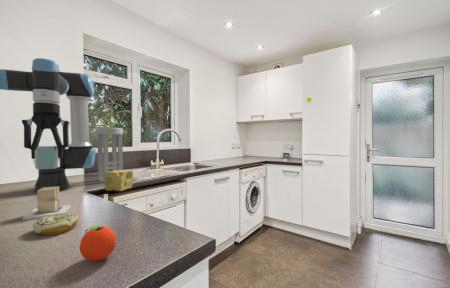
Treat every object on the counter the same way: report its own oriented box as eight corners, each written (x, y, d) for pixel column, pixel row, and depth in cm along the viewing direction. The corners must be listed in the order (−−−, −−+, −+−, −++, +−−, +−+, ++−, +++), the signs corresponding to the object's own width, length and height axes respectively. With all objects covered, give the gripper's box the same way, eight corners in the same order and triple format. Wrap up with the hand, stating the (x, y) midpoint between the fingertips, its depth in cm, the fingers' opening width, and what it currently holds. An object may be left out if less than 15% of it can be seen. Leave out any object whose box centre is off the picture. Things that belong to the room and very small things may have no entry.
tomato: (68, 263, 46) (67, 229, 46) (98, 248, 52) (97, 218, 52) (95, 271, 43) (95, 235, 43) (123, 254, 49) (123, 222, 49)
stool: (127, 180, 146) (126, 128, 145) (102, 183, 134) (101, 127, 134) (117, 177, 156) (116, 129, 155) (93, 180, 144) (92, 128, 144)
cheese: (121, 191, 112) (121, 172, 112) (103, 190, 114) (103, 171, 114) (133, 187, 122) (133, 169, 122) (117, 186, 125) (116, 169, 124)
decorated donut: (29, 241, 57) (29, 227, 56) (36, 228, 65) (35, 215, 65) (78, 231, 62) (77, 218, 62) (77, 220, 71) (77, 209, 71)
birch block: (42, 209, 80) (42, 187, 80) (59, 207, 82) (59, 186, 82) (37, 213, 76) (37, 190, 76) (55, 211, 78) (54, 189, 78)
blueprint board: (35, 210, 82) (35, 208, 81) (70, 206, 86) (70, 204, 86) (22, 220, 71) (22, 217, 71) (63, 215, 76) (63, 212, 76)
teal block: (41, 167, 80) (41, 146, 80) (58, 167, 82) (58, 146, 82) (36, 169, 75) (36, 146, 75) (54, 168, 77) (54, 146, 77)
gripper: (8, 99, 71) (9, 170, 71) (74, 103, 79) (75, 167, 79) (19, 103, 78) (20, 167, 78) (78, 106, 85) (79, 165, 86)
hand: (47, 167), depth 78 cm, fingers closed on teal block, 5 cm apart
